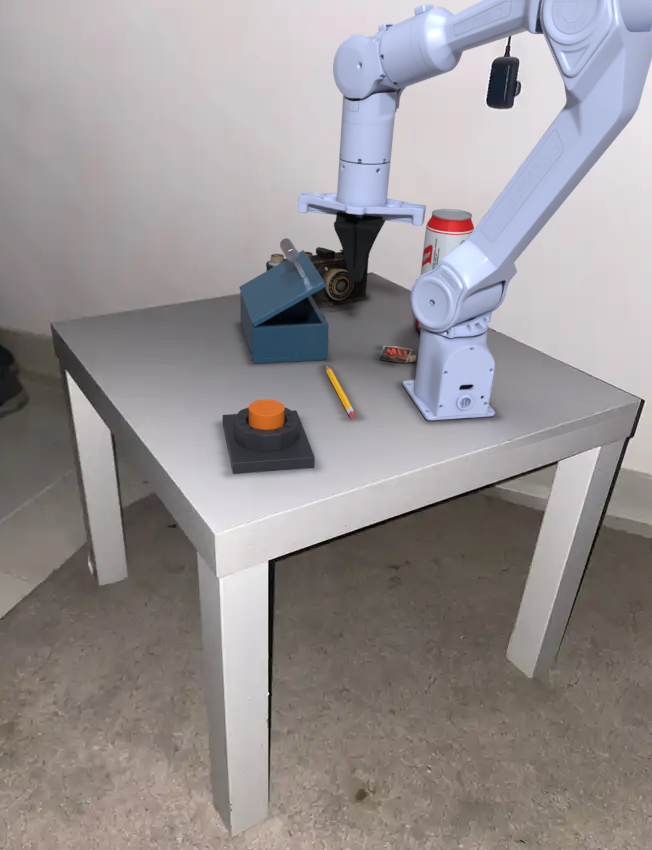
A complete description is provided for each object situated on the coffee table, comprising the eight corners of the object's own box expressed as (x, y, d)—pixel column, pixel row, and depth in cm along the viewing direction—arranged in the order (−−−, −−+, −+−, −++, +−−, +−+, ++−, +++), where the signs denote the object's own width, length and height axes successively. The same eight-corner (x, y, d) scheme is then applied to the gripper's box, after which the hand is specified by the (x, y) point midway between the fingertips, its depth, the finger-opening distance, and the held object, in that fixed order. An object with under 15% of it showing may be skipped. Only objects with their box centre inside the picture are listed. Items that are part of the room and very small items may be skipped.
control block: (314, 467, 76) (315, 441, 74) (232, 473, 74) (232, 446, 73) (296, 419, 84) (296, 395, 82) (222, 424, 82) (221, 399, 81)
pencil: (349, 419, 85) (349, 413, 84) (323, 368, 96) (323, 363, 95) (356, 418, 85) (356, 412, 84) (329, 368, 96) (329, 363, 95)
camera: (280, 320, 109) (281, 265, 105) (261, 305, 114) (261, 251, 110) (379, 305, 116) (384, 252, 111) (357, 291, 121) (360, 240, 116)
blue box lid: (305, 254, 104) (289, 223, 101) (326, 286, 93) (309, 252, 90) (241, 291, 105) (224, 261, 102) (254, 327, 94) (235, 295, 91)
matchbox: (380, 363, 97) (380, 359, 97) (377, 347, 101) (378, 343, 101) (417, 364, 97) (417, 360, 97) (413, 348, 101) (413, 345, 101)
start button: (287, 430, 76) (287, 414, 76) (251, 432, 76) (250, 416, 75) (281, 413, 79) (281, 398, 79) (246, 415, 79) (246, 400, 78)
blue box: (307, 321, 109) (308, 289, 106) (327, 360, 98) (328, 324, 95) (240, 324, 107) (240, 291, 105) (253, 363, 96) (253, 328, 94)
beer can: (462, 326, 109) (478, 210, 101) (457, 342, 104) (474, 221, 96) (417, 320, 110) (430, 205, 102) (411, 336, 105) (424, 216, 97)
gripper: (292, 159, 84) (288, 281, 91) (424, 172, 81) (410, 297, 88) (309, 148, 90) (304, 263, 97) (433, 160, 87) (419, 278, 94)
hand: (355, 278), depth 93 cm, fingers closed
